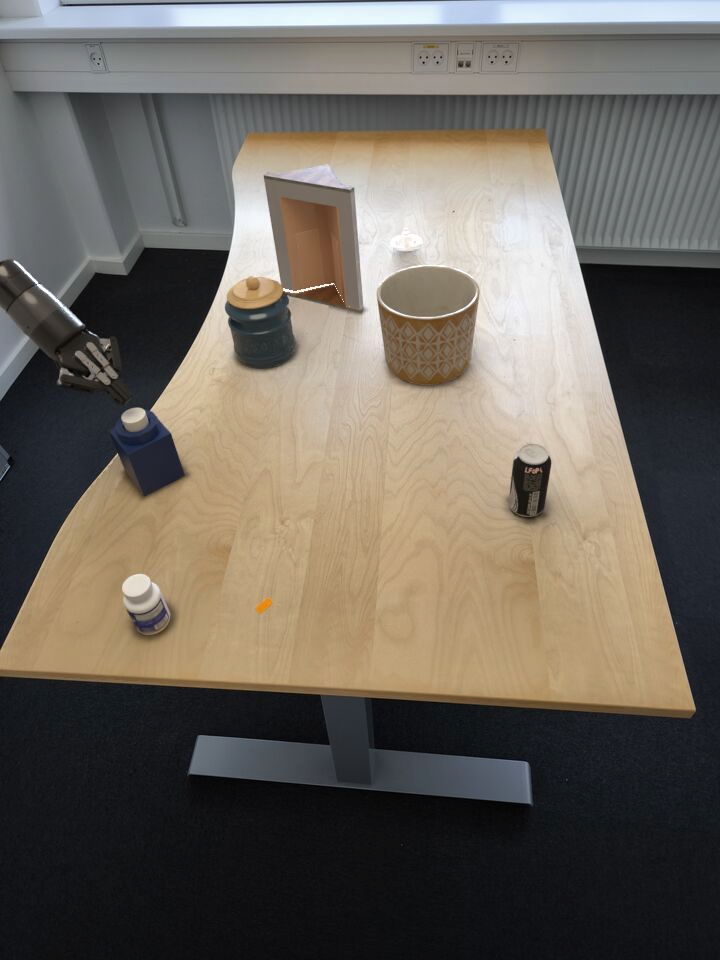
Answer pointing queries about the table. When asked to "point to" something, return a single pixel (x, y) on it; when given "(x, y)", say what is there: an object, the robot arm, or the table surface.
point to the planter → (428, 322)
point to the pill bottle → (145, 604)
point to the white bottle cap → (135, 419)
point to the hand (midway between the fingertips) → (128, 401)
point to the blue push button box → (148, 454)
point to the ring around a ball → (406, 242)
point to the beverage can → (529, 480)
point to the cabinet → (316, 236)
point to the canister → (260, 322)
